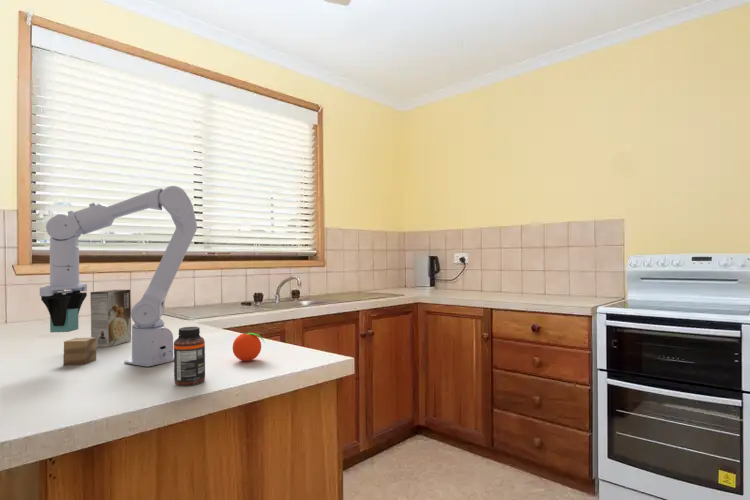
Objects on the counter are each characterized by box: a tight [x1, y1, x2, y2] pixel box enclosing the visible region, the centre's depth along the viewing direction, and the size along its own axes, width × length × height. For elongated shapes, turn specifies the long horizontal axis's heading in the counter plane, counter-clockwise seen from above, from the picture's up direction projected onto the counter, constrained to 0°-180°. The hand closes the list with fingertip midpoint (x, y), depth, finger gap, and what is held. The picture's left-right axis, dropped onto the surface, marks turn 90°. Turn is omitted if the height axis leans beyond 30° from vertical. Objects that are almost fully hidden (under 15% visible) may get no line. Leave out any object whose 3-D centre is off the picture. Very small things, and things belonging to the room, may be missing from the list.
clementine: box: [232, 331, 265, 362], centre depth 113 cm, size 8×7×7 cm
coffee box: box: [90, 289, 132, 348], centre depth 137 cm, size 9×6×16 cm
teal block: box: [49, 308, 79, 333], centre depth 107 cm, size 4×4×5 cm
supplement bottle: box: [173, 326, 206, 387], centre depth 94 cm, size 6×6×11 cm
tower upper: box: [63, 336, 97, 354], centre depth 113 cm, size 5×5×3 cm
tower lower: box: [62, 348, 97, 366], centre depth 113 cm, size 5×5×3 cm
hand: (65, 324), depth 107 cm, fingers closed on teal block, 4 cm apart
